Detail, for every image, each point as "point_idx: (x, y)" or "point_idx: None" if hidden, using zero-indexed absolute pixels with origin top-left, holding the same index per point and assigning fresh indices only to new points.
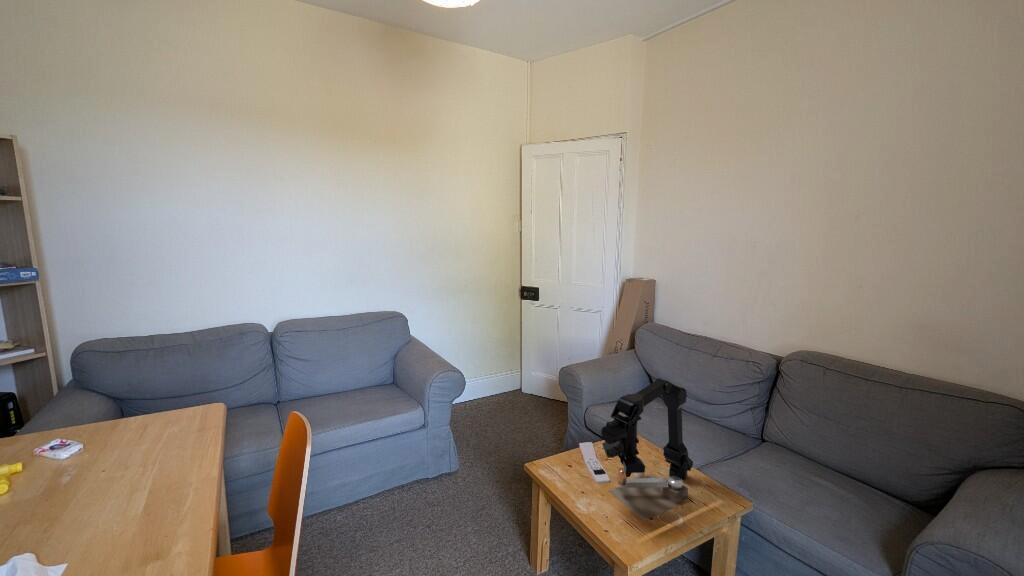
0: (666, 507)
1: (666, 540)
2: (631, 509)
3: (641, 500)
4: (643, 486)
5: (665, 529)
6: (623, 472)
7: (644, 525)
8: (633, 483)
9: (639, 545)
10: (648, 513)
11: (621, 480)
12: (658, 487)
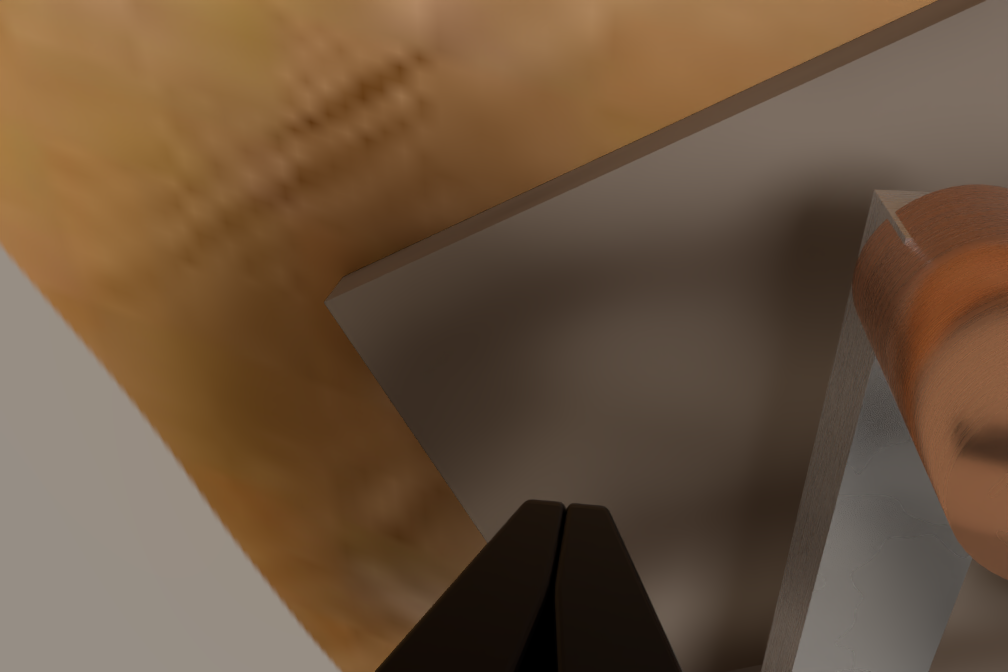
0: None
1: (151, 408)
2: (546, 220)
3: (725, 408)
4: (787, 578)
5: (302, 457)
6: (959, 477)
7: (338, 282)
8: (831, 481)
9: (6, 119)
10: (463, 399)
11: (902, 290)
12: (945, 669)
